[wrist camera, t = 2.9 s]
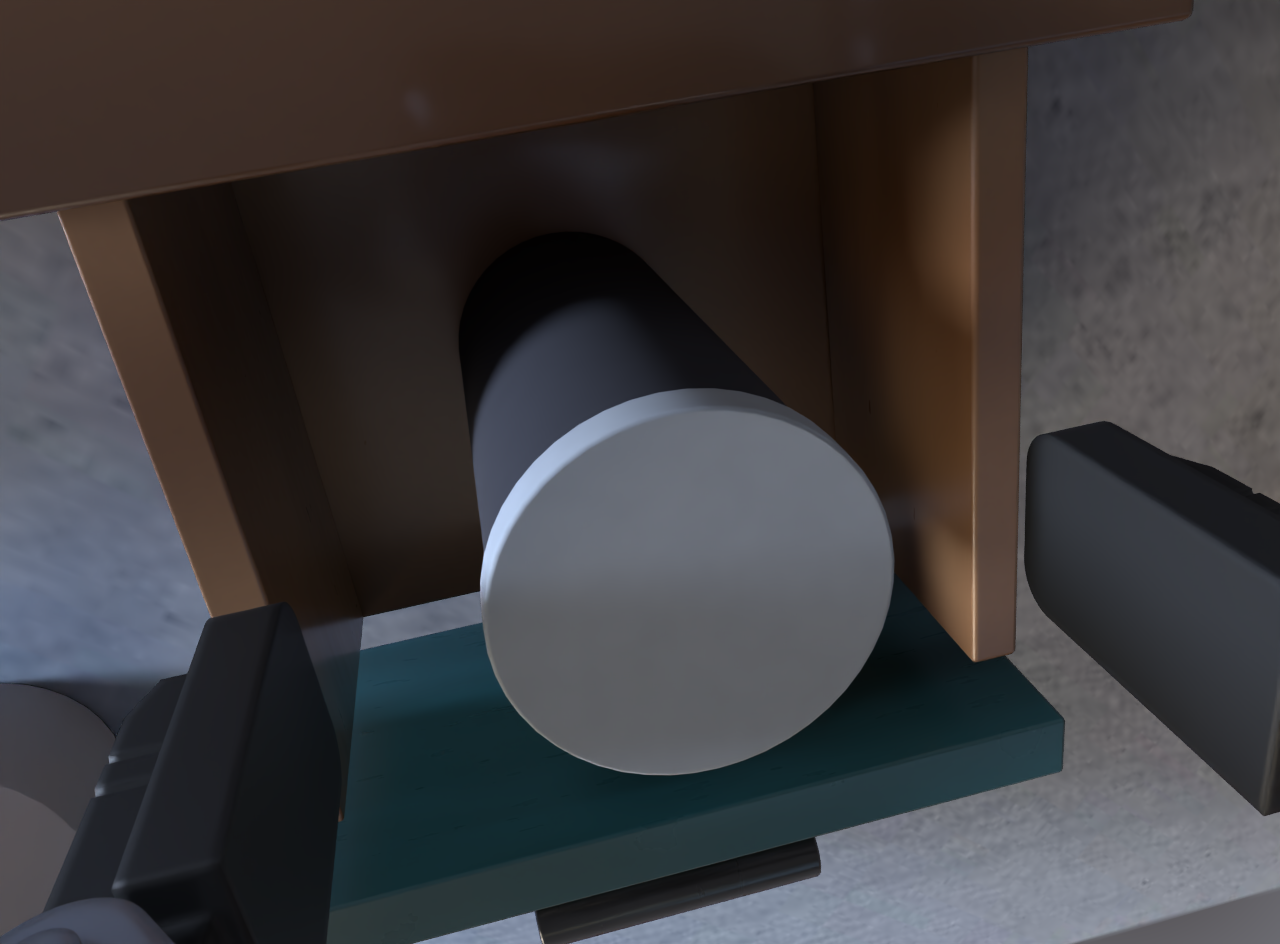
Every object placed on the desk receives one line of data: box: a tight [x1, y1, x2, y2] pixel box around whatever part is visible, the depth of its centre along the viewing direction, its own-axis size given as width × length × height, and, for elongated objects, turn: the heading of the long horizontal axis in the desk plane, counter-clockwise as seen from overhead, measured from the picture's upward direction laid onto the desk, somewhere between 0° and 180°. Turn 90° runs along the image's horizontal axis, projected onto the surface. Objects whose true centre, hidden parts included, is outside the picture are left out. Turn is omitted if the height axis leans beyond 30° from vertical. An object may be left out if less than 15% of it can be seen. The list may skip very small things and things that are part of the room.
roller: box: [459, 232, 894, 775], centre depth 15 cm, size 4×4×10 cm
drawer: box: [57, 47, 1065, 944], centre depth 18 cm, size 20×14×7 cm
